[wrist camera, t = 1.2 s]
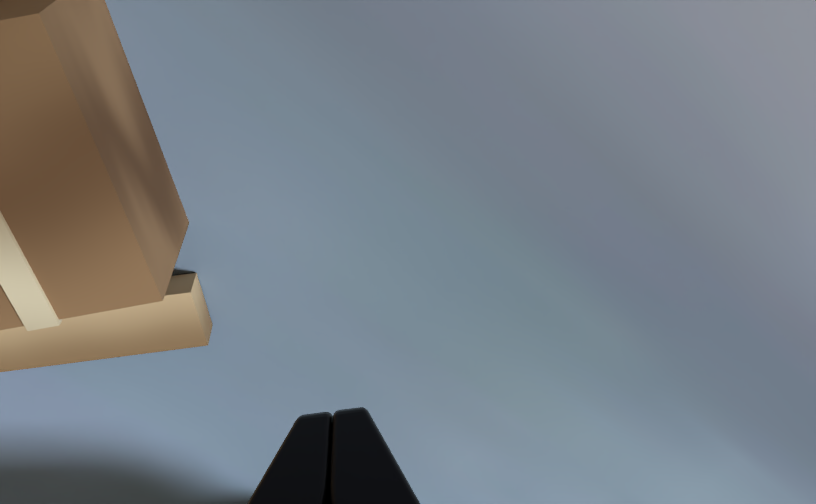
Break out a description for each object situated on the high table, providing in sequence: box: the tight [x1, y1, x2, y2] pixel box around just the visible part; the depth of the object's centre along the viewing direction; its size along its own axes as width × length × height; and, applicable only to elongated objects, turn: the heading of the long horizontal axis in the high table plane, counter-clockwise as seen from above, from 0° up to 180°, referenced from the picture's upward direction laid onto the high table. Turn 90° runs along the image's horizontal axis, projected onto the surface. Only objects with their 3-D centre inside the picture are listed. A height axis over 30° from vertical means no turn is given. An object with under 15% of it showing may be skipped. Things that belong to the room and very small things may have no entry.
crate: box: [0, 0, 189, 331], centre depth 18 cm, size 7×6×4 cm
